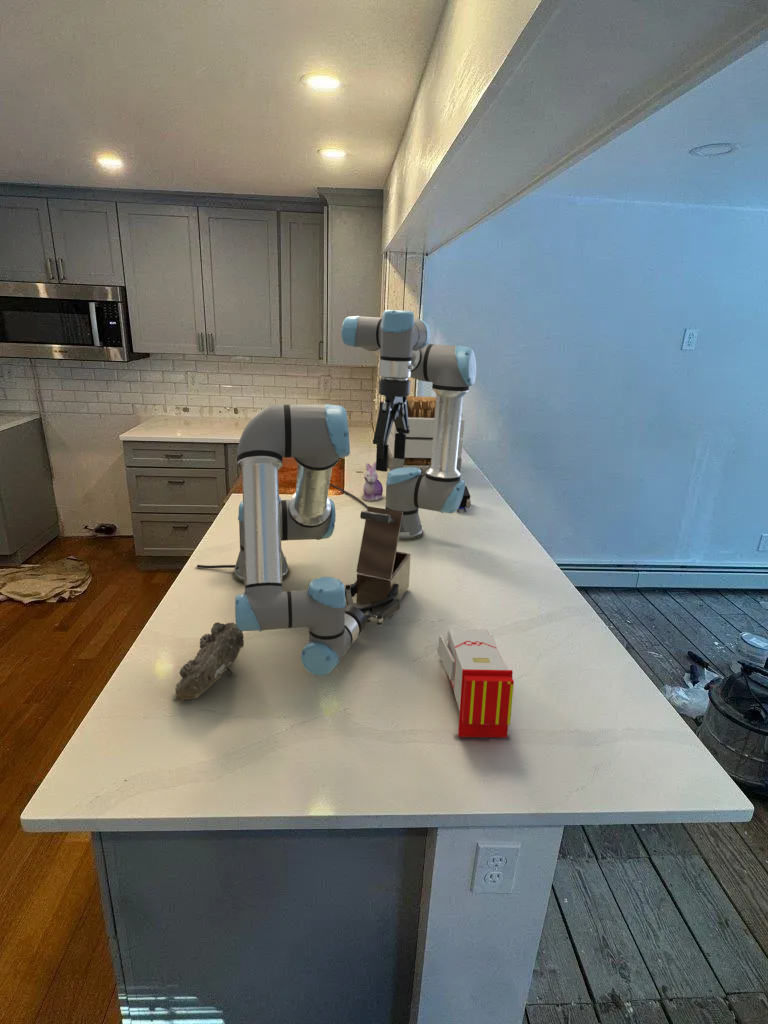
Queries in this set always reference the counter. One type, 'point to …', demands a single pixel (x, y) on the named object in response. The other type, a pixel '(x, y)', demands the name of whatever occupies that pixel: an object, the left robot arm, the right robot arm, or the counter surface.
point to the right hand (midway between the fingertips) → (390, 464)
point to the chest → (384, 582)
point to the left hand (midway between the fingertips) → (379, 585)
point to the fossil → (210, 660)
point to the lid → (379, 541)
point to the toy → (478, 682)
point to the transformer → (419, 435)
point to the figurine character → (465, 500)
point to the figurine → (372, 484)
